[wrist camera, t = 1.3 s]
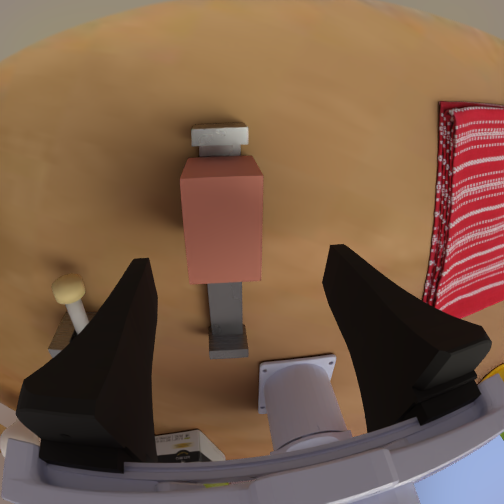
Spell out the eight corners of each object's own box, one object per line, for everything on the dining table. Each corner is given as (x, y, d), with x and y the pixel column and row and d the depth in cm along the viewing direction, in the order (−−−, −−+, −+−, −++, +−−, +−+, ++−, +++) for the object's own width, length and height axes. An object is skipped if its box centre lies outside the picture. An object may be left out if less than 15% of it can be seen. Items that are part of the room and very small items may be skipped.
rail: (244, 333, 28) (248, 356, 26) (209, 335, 28) (210, 359, 25) (243, 122, 20) (248, 127, 17) (194, 124, 19) (191, 129, 17)
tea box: (144, 463, 41) (140, 539, 29) (108, 437, 37) (97, 524, 24) (227, 454, 41) (236, 539, 28) (200, 426, 36) (204, 530, 23)
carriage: (253, 233, 23) (265, 280, 18) (191, 236, 23) (185, 284, 17) (253, 152, 20) (268, 175, 15) (185, 154, 20) (174, 179, 14)
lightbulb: (10, 393, 31) (-12, 454, 21) (28, 386, 30) (4, 453, 21) (41, 417, 34) (24, 477, 24) (61, 412, 33) (45, 478, 23)
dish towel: (413, 323, 32) (424, 338, 29) (430, 99, 20) (450, 102, 18) (508, 285, 32) (519, 296, 30) (535, 109, 20) (552, 114, 18)
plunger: (102, 324, 24) (95, 345, 22) (77, 324, 24) (68, 344, 22) (86, 273, 22) (75, 293, 20) (59, 274, 22) (46, 293, 19)
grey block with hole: (138, 358, 29) (131, 398, 24) (85, 356, 28) (73, 393, 24) (123, 311, 26) (111, 352, 21) (66, 311, 25) (47, 349, 21)
